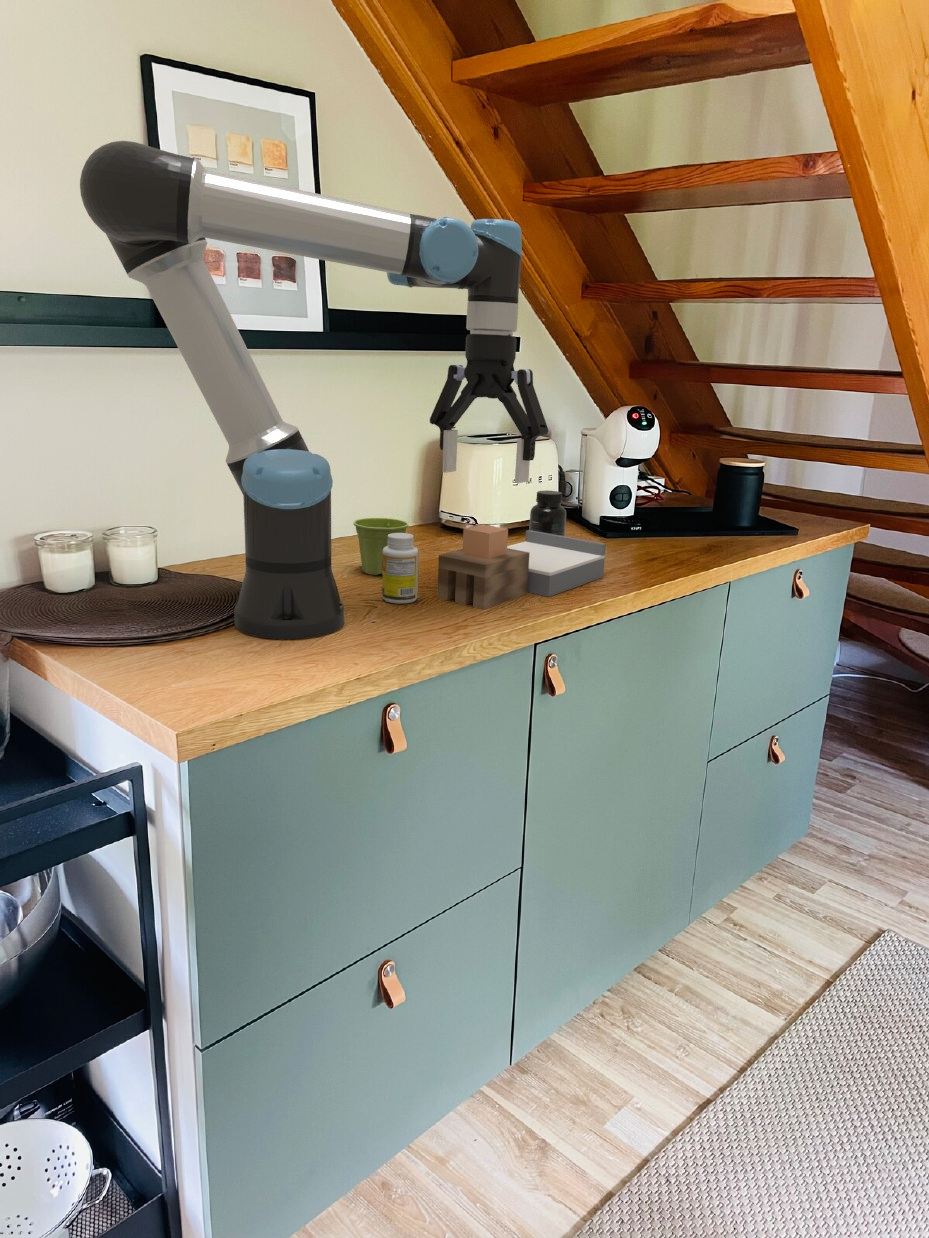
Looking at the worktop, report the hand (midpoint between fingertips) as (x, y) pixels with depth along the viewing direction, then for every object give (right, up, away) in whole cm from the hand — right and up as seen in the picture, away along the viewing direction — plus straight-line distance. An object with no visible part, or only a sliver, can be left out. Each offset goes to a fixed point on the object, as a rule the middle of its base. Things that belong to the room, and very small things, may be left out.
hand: (484, 477), depth 142 cm
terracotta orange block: (0, -12, +2) cm, 12 cm away
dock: (+9, -15, +17) cm, 24 cm away
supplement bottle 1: (-13, -19, 0) cm, 23 cm away
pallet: (0, -18, +4) cm, 19 cm away
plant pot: (-18, -14, +17) cm, 28 cm away
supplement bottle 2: (+13, -10, +35) cm, 38 cm away
